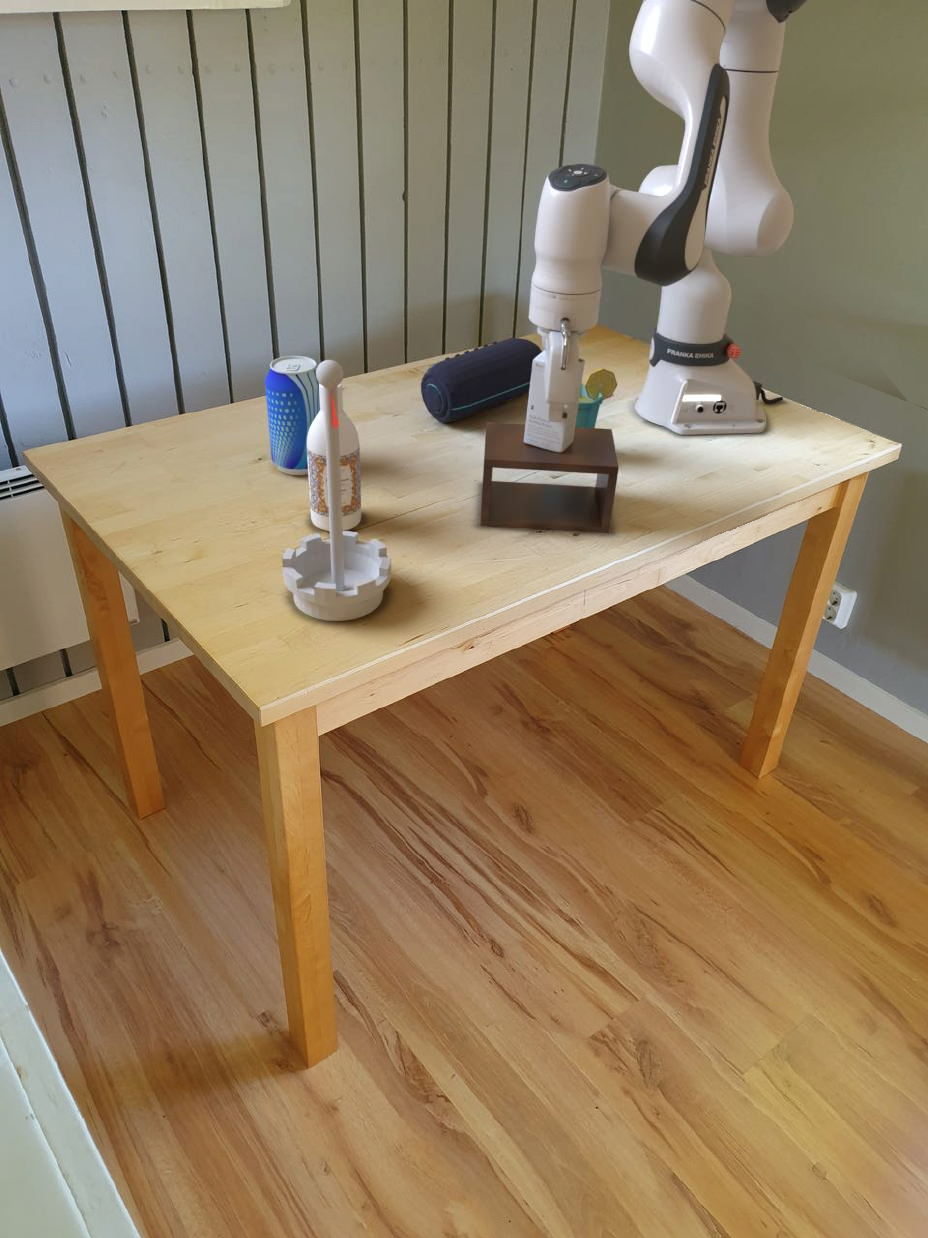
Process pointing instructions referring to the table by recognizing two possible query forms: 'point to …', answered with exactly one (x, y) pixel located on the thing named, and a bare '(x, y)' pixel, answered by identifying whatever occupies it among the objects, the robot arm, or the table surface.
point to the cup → (594, 396)
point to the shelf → (549, 501)
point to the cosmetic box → (537, 422)
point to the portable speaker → (478, 379)
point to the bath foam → (347, 468)
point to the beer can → (291, 410)
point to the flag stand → (336, 541)
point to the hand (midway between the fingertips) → (553, 409)
